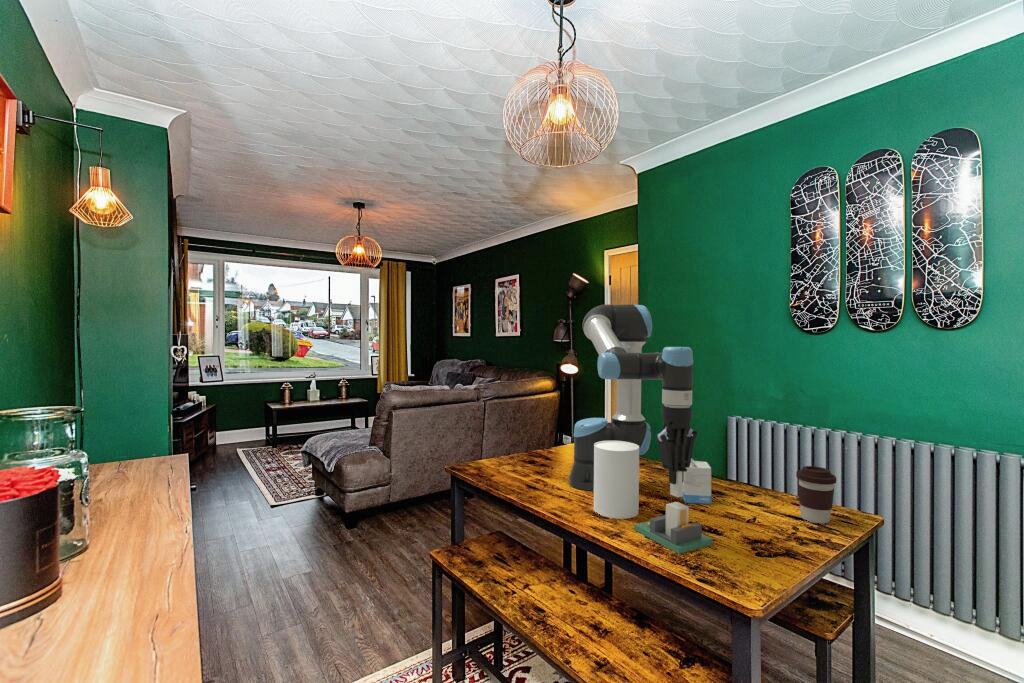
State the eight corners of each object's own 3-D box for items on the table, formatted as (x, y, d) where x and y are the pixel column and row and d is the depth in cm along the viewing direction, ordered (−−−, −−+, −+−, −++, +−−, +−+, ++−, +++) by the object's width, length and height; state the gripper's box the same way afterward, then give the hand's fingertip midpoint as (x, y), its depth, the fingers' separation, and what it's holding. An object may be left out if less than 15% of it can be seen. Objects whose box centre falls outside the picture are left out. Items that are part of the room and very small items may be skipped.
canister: (584, 507, 149) (585, 443, 148) (616, 499, 156) (617, 438, 155) (614, 522, 137) (615, 453, 137) (648, 513, 144) (648, 447, 144)
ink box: (711, 504, 152) (712, 463, 151) (684, 502, 153) (684, 461, 153) (706, 495, 160) (706, 456, 160) (680, 493, 162) (680, 454, 161)
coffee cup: (822, 528, 133) (823, 475, 133) (788, 516, 142) (789, 466, 142) (842, 522, 138) (843, 471, 138) (808, 511, 147) (809, 462, 146)
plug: (665, 534, 125) (665, 504, 125) (676, 531, 127) (676, 501, 127) (677, 540, 122) (678, 509, 122) (688, 537, 124) (689, 506, 123)
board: (634, 529, 132) (634, 510, 132) (666, 522, 137) (666, 503, 137) (679, 554, 117) (679, 532, 117) (712, 544, 123) (713, 523, 123)
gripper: (669, 409, 118) (668, 503, 118) (706, 406, 124) (705, 496, 124) (647, 405, 125) (647, 494, 125) (683, 402, 131) (682, 487, 131)
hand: (676, 495), depth 125 cm, fingers closed
